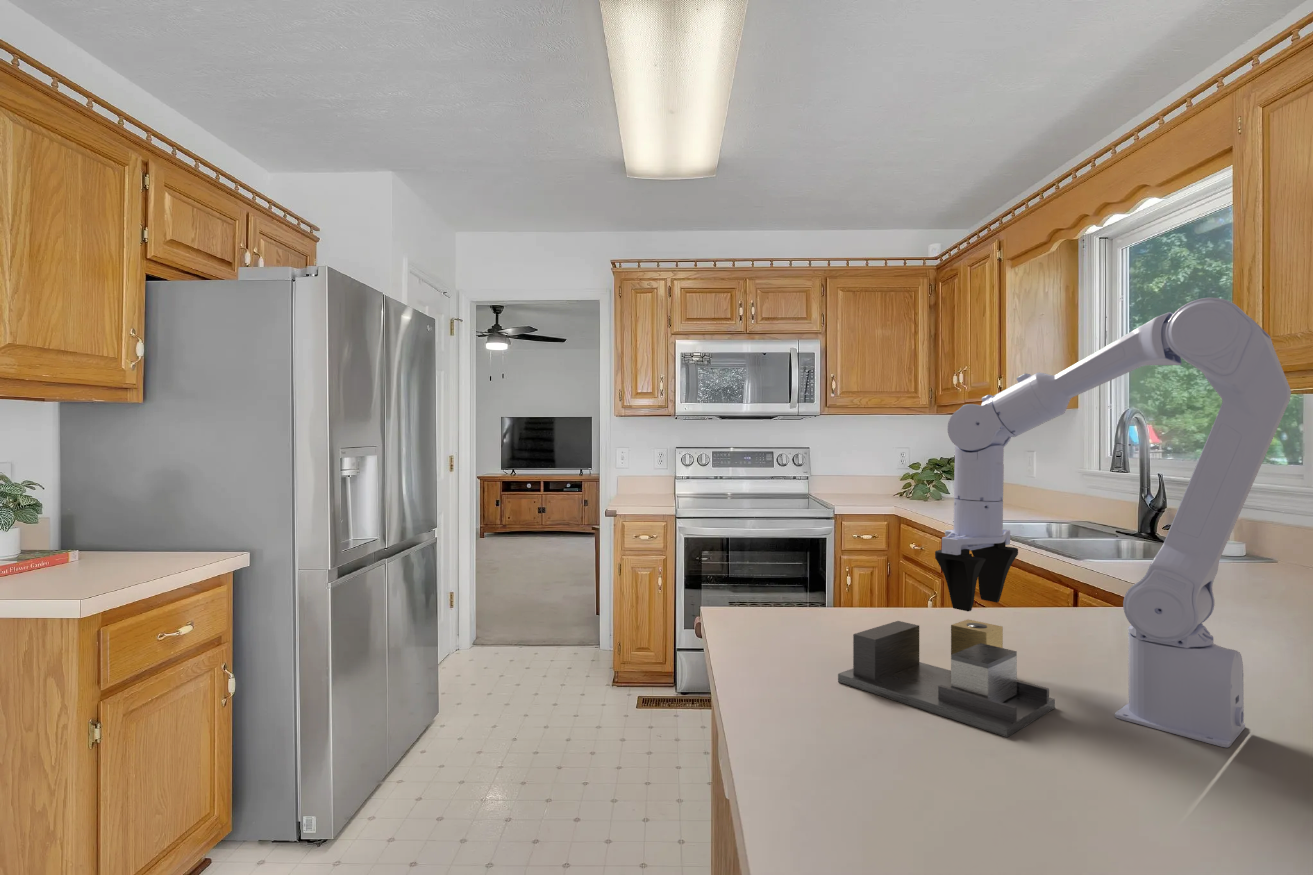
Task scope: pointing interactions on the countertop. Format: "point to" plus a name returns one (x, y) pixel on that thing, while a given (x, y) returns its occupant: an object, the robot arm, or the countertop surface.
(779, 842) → the countertop surface
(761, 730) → the countertop surface
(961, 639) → the housing
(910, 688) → the press bed
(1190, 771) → the countertop surface
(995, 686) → the block
